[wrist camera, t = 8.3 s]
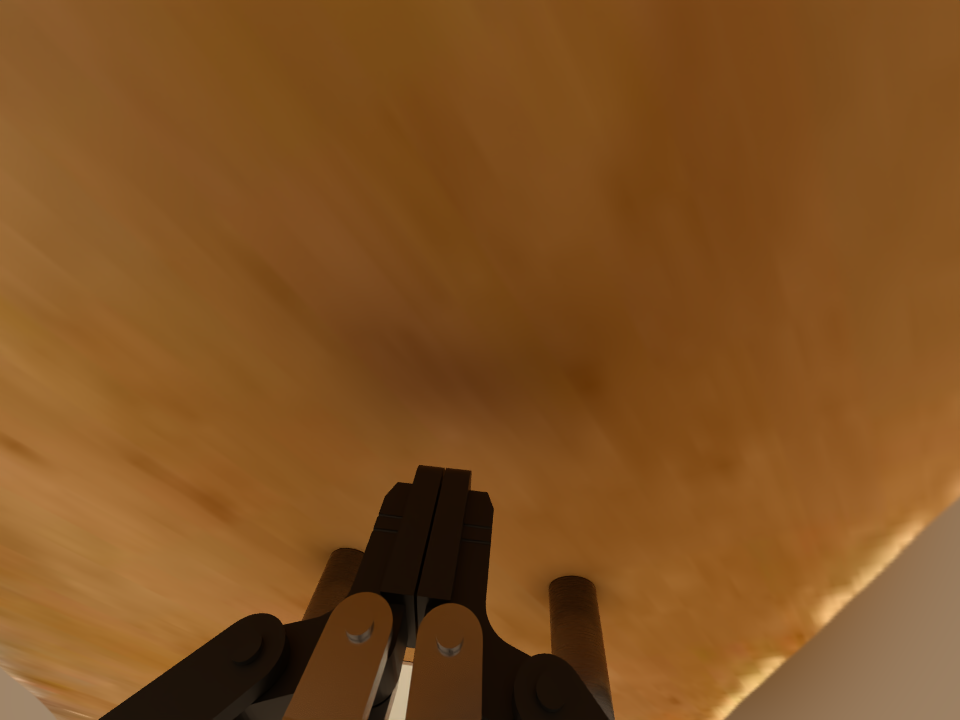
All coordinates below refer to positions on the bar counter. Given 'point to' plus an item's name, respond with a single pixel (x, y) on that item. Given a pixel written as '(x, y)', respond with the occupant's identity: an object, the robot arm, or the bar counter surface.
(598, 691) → the post
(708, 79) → the bar counter surface
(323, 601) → the post
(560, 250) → the bar counter surface
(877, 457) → the bar counter surface
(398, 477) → the bar counter surface
